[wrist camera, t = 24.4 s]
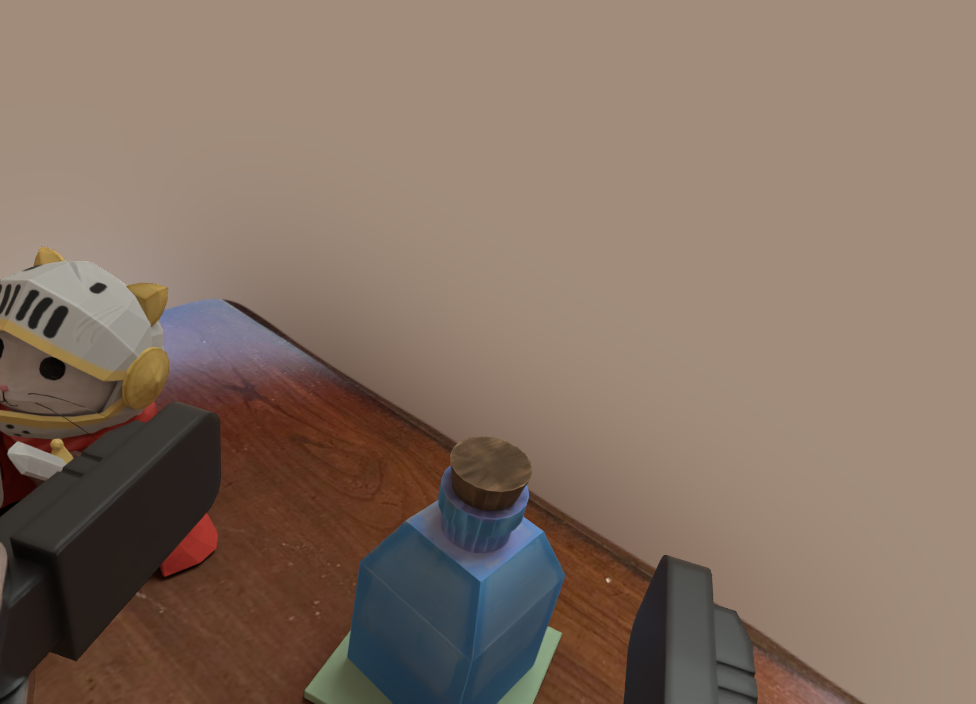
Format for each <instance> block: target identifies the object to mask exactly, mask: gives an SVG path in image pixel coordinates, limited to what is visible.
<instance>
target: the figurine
mask: <svg viewBox="0 0 976 704" xmlns="http://www.w3.org/2000/svg"><path fill="white" fill-rule="evenodd" d="M167 298H168V288H167V287H164V286H161V285H158V284H152V283H138V284H133V285H126V284H124V283H123V282H121V281H120V280H119V279H118V278H116V277H114V276H113V275H111V274H110V273H108V272H107V271H105V270H103V269H102V268H100V267H99V266H97V265H95V264H94V263H92V262H89V261H65V260H64V259H63V258H62V257H61V256H60V255H59V254H58V253H57V252H56V251H54V250H52V249H49V248H46V247H41V248H40V250H39V252H38V254H37V256H36V258H35V262H34V267H31V268H28V269H26V270H23V271H20V272H18V273H16V274H13V275H11V276H8V277H6V278H3V279H0V509H1V508H3V507H5V506H7V505H9V504H11V503H13V502H16V501H19V500H22V499H23V498H25V497H26V496H27V495H28V494H30V493H31V492H32V491H33V490H35V489H36V488H37V487H39V486H40V485H41V484H42V483H44V482H45V481H46V480H47V479H49V478H50V477H51V476H52V475H54V474H55V473H56V472H57V471H58V472H61V471H62V469H63V467H64V466H65V465H66V464H67V463H69V462H70V461H71V460H72V459H74V458H75V457H76V456H81V454H82V451H84V450H85V449H86V448H87V447H89V446H90V445H91V444H92V443H94V442H95V441H96V440H97V439H99V438H100V437H101V436H102V435H104V434H105V433H107V432H109V431H111V430H114V429H116V428H119V427H121V426H123V425H126V424H128V423H130V422H133V421H135V420H139V421H142V422H145V423H146V422H148V421H149V420H150V419H151V418H152V417H153V416H155V415H156V414H157V413H158V411H157V408H156V405H155V402H154V400H155V399H156V398H157V397H158V396H159V395H160V393H161V391H162V389H163V387H164V385H165V384H166V380H167V377H168V374H169V358H168V355H167V353H166V352H165V351H164V332H163V329H162V327H161V324H160V322H159V319H160V317H161V315H162V313H163V311H164V309H165V306H166V303H167ZM217 540H218V533H217V531H216V529H215V527H214V525H213V523H212V521H211V520H210V518H209V516H208V514H207V513H206V514H205V515H204V517H203V518H202V519H201V520H200V521H199V522H198V523H197V525H196V526H195V527H194V528H193V529H192V530H191V531H190V533H189V534H188V535H187V536H186V537H185V538H184V539H183V540H182V542H181V543H180V544H179V545H178V546H177V547H176V548H175V550H174V551H173V552H172V553H171V554H170V555H169V556H168V558H167V559H166V560H165V561H164V562H163V563H162V564H161V565H160V568H161V573H162V575H163V576H164V577H166V576H168V575H171V574H173V573H176V572H178V571H181V570H183V569H186V568H188V567H191V566H193V565H196V564H198V563H200V562H202V561H203V560H204V559H205V558H206V557H207V556H208V555H209V554H210V553H212V552H213V551H214V550H215V549H216V548H217Z"/></svg>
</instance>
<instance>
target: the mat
mask: <svg viewBox="0 0 976 704" xmlns="http://www.w3.org/2000/svg"><path fill="white" fill-rule="evenodd" d="M350 632H351V630H350ZM350 632H349V633H348V634H347V636H346V637H345V638H344V640H343V641H342V642H341V643H340V645H339V646H338V647H337V649H336V650H335V651H334V653H333V654H332V655H331V657H330V658H329V659H328V660H327V662H326V663H325V664H324V666H323V667H322V668H321V670H320V671H319V672H318V674H317V675H316V676H315V677H314V679H313V680H312V681H311V683H310V684H309V685H308V687H307V688H306V689H305V691H304V698H306V699H308V700H309V701H311V702H313V703H315V704H393V703H392V702H391V701H390V700H389V699H388V698H387V697H386V696H385V695H384V694H383V693H382V692H381V691H380V690H379V689H378V688H377V687H376V686H375V685H374V684H373V683H372V682H371V681H370V680H369V679H368V678H367V677H366V676H365V675H364V674H363V673H362V672H361V671H360V670H359V669H358V668H357V666H356V665H355V664H354V663H353V662H352V661H351V660H350V659H349V658H348V657H347V654H348V646H349V639H350ZM561 635H562V633H561V632H559V631H557V630H555V629H552V628H550V627H547V629H546V632H545V635H544V638H543V641H542V644H541V646H540V649H539V652H538V655H537V658H536V661H535V663H534V666H533V667H532V668H531V669H530V670H529V671H528V672H527V673H526V674H525V675H524V676H523V677H522V678H521V679H520V680H519V681H518V682H517V683H516V684H515V685H514V686H513V687H512V688H511V689H510V690H509V691H508V692H507V693H506V695H505V696H504V697H503V698H502V699H501V700H500V701H499V702H498V703H497V704H533V703H534V700H535V698H536V695H537V693H538V691H539V688H540V686H541V684H542V681H543V679H544V676H545V674H546V672H547V669H548V667H549V664H550V662H551V660H552V657H553V655H554V652H555V650H556V648H557V645H558V643H559V641H560V638H561Z"/></svg>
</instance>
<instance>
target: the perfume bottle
mask: <svg viewBox="0 0 976 704" xmlns="http://www.w3.org/2000/svg"><path fill="white" fill-rule="evenodd" d="M531 474H532V467H531V462H530V461H529V459H528V458H527V456H526V455H525V453H523V452H522V451H521V450H520V449H519V448H518V447H516V446H514V445H512V444H510V443H508V442H507V441H503V440H500V439H497V438H492V437H473V438H469V439H466V440H464V441H461V442H460V443H458V444H457V445H456V446H455V447H454V448H453V450H452V453H451V466H450V467H449V468H447V469H446V470H445V473H444V475H443V477H442V480H441V485H440V490H439V495H438V501H436V502H435V503H433V504H431V505H430V506H428V507H427V508H425V509H424V510H422V511H420V512H419V513H417V514H416V515H414V516H413V517H411V518H409V519H408V520H406V521H405V522H404V523H403V524H402V525H401V526H399V527H398V528H397V529H396V530H395V531H394V532H393V533H392V534H391V535H389V536H388V537H387V538H386V539H385V540H384V541H383V542H382V543H381V544H379V545H378V546H377V547H376V548H375V549H374V550H373V551H372V552H370V553H369V554H368V555H367V556H366V557H365V558H364V559H363V560H362V561H360V566H359V574H358V581H357V588H356V595H355V603H354V610H353V617H352V625H351V632H350V639H349V646H348V654H347V657H348V658H349V659H350V660H351V661H352V662H353V663H354V664H355V665H356V666H357V668H358V669H359V670H360V671H361V672H362V673H363V674H364V675H365V676H366V677H367V678H368V679H369V680H370V681H371V682H372V683H373V684H374V685H375V686H376V687H377V688H378V689H379V690H380V691H381V692H382V693H383V694H384V695H385V696H386V697H387V698H388V699H389V700H390V701H391V702H392V703H393V704H497V703H498V702H499V701H500V700H501V699H502V698H503V697H504V696H505V695H506V693H507V692H508V691H509V690H510V689H511V688H512V687H513V686H514V685H515V684H516V683H517V682H518V681H519V680H520V679H521V678H522V677H523V676H524V675H525V674H526V673H527V672H528V671H529V670H530V669H531V668H532V667H533V666H534V663H535V661H536V658H537V655H538V652H539V649H540V646H541V644H542V641H543V638H544V635H545V632H546V629H547V627H548V624H549V621H550V618H551V615H552V612H553V609H554V607H555V604H556V601H557V598H558V595H559V592H560V590H561V587H562V584H563V581H564V578H565V574H564V572H563V570H562V568H561V566H560V564H559V562H558V560H557V558H556V556H555V554H554V551H553V549H552V547H551V545H550V543H549V541H548V539H547V537H546V535H545V533H544V531H542V530H541V529H540V528H538V527H537V526H535V525H534V524H533V523H531V522H530V521H529V520H527V519H526V518H524V517H523V515H524V512H525V508H526V505H527V501H528V498H529V492H528V487H527V483H528V481H529V480H530V477H531Z"/></svg>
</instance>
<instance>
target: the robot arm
mask: <svg viewBox="0 0 976 704" xmlns="http://www.w3.org/2000/svg"><path fill="white" fill-rule="evenodd" d="M220 482H221V449H220V420H219V417H218V415H217V414H215V413H213V412H210V411H206V410H203V409H200V408H197V407H194V406H190V405H187V404H184V403H181V402H176V401H175V402H172V403H170V404H168V405H167V406H165V407H164V408H163V409H162V410H161V411H159V412H158V413H157V414H156V415H155V416H153V417H152V418H151V419H150V420H149V421H148V422H146V423H145V422H142V421H139V420H135V421H133V422H130V423H128V424H126V425H123V426H121V427H119V428H116V429H114V430H111V431H109V432H107V433H105V434H104V435H102V436H101V437H100V438H99V439H97V440H96V441H95V442H94V443H92V444H91V445H90V446H89V447H87V448H86V449H85V450H84V451H82V454H81V456H76V457H75V458H74V459H72V460H71V461H70V462H69V463H67V464H66V465H65V466H64V467H63V469H62V471H61V472H58V471H57V472H56V473H55V474H54V475H52V476H51V477H50V478H49V479H47V480H46V481H45V482H44V483H42V484H41V485H40V486H39V487H37V488H36V489H35V490H33V491H32V492H31V493H30V494H28V495H27V496H26V497H25V498H23V499H22V500H21V501H20V502H18V503H17V504H16V505H15V506H13V507H12V508H11V509H10V510H8V511H7V512H6V513H5V514H3V515H2V516H1V517H0V704H33V695H34V685H35V672H34V668H35V667H36V666H37V665H38V664H39V663H40V662H41V661H42V660H43V659H44V658H45V657H46V656H47V654H48V653H49V652H52V653H55V654H58V655H60V656H63V657H66V658H69V659H71V660H74V661H77V660H78V659H79V658H80V656H81V655H82V654H83V653H84V652H85V651H86V650H87V648H88V647H89V646H90V645H91V644H92V643H93V642H94V640H95V639H96V638H97V637H98V636H99V635H100V634H101V633H102V631H103V630H104V629H105V628H106V627H107V626H108V625H109V623H110V622H111V621H112V620H113V619H114V618H115V617H116V615H117V614H118V613H119V612H120V611H121V610H122V609H123V608H124V606H125V605H126V604H127V603H128V602H129V601H130V600H131V598H132V597H133V596H134V595H135V594H136V593H137V592H138V590H139V589H140V588H141V587H142V586H143V585H144V584H145V583H146V581H147V580H148V579H149V578H150V577H151V576H152V575H153V573H154V572H155V571H156V570H157V569H158V568H159V567H160V565H161V564H162V563H163V562H164V561H165V560H166V559H167V558H168V556H169V555H170V554H171V553H172V552H173V551H174V550H175V548H176V547H177V546H178V545H179V544H180V543H181V542H182V540H183V539H184V538H185V537H186V536H187V535H188V534H189V533H190V531H191V530H192V529H193V528H194V527H195V526H196V525H197V523H198V522H199V521H200V520H201V519H202V518H203V517H204V515H205V514H206V513H207V512H208V511H209V509H210V508H211V506H212V504H213V503H214V500H215V498H216V496H217V494H218V490H219V487H220ZM754 675H755V667H754V658H753V648H752V641H751V639H750V637H749V635H748V634H747V632H746V630H745V628H744V626H743V624H742V622H741V620H740V618H739V616H738V614H737V612H736V611H734V610H731V609H728V608H725V607H721V606H718V605H715V604H713V587H712V574H711V570H710V569H709V568H707V567H703V566H700V565H697V564H693V563H690V562H687V561H684V560H681V559H677V558H674V557H671V556H668V555H664V556H663V557H662V559H661V560H660V563H659V564H658V567H657V569H656V571H655V574H654V576H653V578H652V580H651V583H650V585H649V587H648V590H647V592H646V594H645V596H644V599H643V601H642V603H641V606H640V608H639V610H638V613H637V615H636V618H635V621H634V624H633V628H632V631H631V636H630V641H629V647H628V655H627V668H626V681H625V694H624V704H757V699H758V695H757V686H756V679H754Z"/></svg>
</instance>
